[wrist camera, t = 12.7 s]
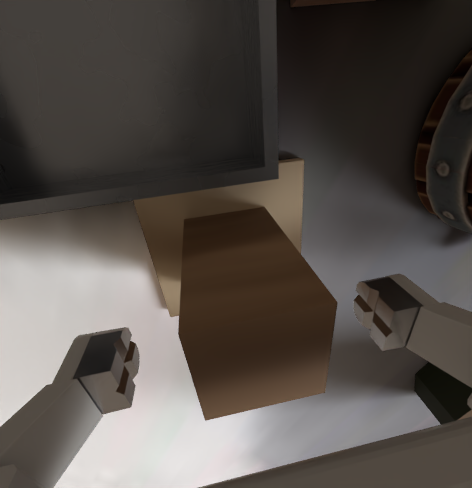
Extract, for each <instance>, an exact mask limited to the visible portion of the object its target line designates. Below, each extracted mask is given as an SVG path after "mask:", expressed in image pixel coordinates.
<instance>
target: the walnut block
mask: <svg viewBox="0 0 472 488" xmlns="http://www.w3.org/2000/svg"><path fill="white" fill-rule="evenodd" d="M336 309H337V301H336V300H335V299H334V297H333V296H332V295H331V293H330V292H329V291H328V289H327V288H326V287H325V285H324V284H323V283H322V282H321V280H320V279H319V278H318V276H317V275H316V274H315V272H314V271H313V270H312V268H311V267H310V266H309V264H308V263H307V262H306V261H305V259H304V258H303V257H302V255H301V254H300V253H299V251H298V250H297V249H296V247H295V246H294V245H293V243H292V242H291V241H290V240H289V238H288V237H287V236H286V234H285V233H284V232H283V230H282V229H281V228H280V226H279V225H278V224H277V222H276V221H275V220H274V219H273V217H272V216H271V215H270V213H269V212H268V211H267V209H266V208H265V207H260V208H253V209H247V210H241V211H234V212H228V213H221V214H215V215H209V216H202V217H196V218H189V219H184V228H183V249H182V269H181V290H180V311H179V332H178V334H179V338H180V341H181V344H182V347H183V351H184V354H185V357H186V360H187V363H188V367H189V370H190V373H191V376H192V379H193V383H194V386H195V389H196V392H197V396H198V399H199V402H200V405H201V408H202V412H203V415H204V418H205V420H210V419H214V418H218V417H223V416H227V415H231V414H235V413H240V412H244V411H248V410H252V409H257V408H261V407H265V406H269V405H274V404H278V403H282V402H287V401H291V400H295V399H299V398H304V397H308V396H312V395H316V394H321V393H325V388H326V381H327V374H328V367H329V360H330V352H331V345H332V338H333V331H334V323H335V316H336Z"/></svg>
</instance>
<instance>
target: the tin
mask: <svg viewBox="0 0 472 488" xmlns="http://www.w3.org/2000/svg"><path fill="white" fill-rule="evenodd" d="M274 179H279V162H278V93H277V24H276V0H0V220H2V219H9V218H16V217H22V216H29V215H36V214H43V213H50V212H56V211H63V210H70V209H77V208H84V207H90V206H97V205H104V204H111V203H118V202H125V201H131V200H138V199H145V198H152V197H159V196H165V195H172V194H179V193H186V192H193V191H199V190H206V189H213V188H220V187H227V186H233V185H240V184H247V183H254V182H261V181H267V180H274Z"/></svg>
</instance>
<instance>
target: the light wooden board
mask: <svg viewBox="0 0 472 488" xmlns="http://www.w3.org/2000/svg"><path fill="white" fill-rule="evenodd" d="M278 162H279V179H274V180H267V181H261V182H254V183H247V184H240V185H233V186H227V187H220V188H213V189H206V190H199V191H193V192H186V193H179V194H172V195H165V196H159V197H152V198H145V199H138V200H133V202H134V205H135V208H136V211H137V214H138V217H139V220H140V223H141V227H142V230H143V233H144V236H145V239H146V242H147V245H148V248H149V252H150V255H151V258H152V261H153V264H154V267H155V270H156V273H157V277H158V280H159V283H160V286H161V289H162V292H163V295H164V298H165V302H166V305H167V308H168V311H169V314H170V317H174V316H179V311H180V290H181V269H182V249H183V228H184V219H189V218H196V217H202V216H209V215H215V214H221V213H228V212H234V211H241V210H247V209H253V208H260V207H265V208H266V209H267V211H268V212H269V213H270V215H271V216H272V217H273V219H274V220H275V221H276V222H277V224H278V225H279V226H280V228H281V229H282V230H283V232H284V233H285V234H286V236H287V237H288V238H289V240H290V241H291V242H292V243H293V245H294V246H295V247H296V249H297V250H298V251H299V253H300V254H301V235H302V207H303V178H304V160H303V159H301V158H294V159H286V160H279V161H278Z"/></svg>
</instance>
